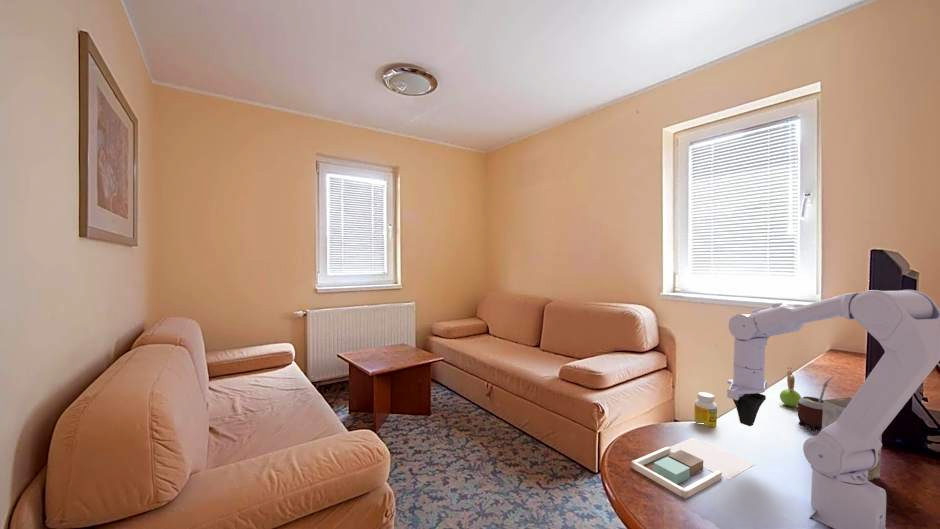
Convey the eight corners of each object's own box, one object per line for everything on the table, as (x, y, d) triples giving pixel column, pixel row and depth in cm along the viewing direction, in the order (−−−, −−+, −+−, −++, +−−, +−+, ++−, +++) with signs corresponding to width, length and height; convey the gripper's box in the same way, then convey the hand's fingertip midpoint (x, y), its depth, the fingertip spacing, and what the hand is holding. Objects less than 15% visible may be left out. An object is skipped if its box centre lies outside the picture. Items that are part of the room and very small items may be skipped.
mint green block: (689, 481, 79) (689, 467, 79) (675, 488, 76) (676, 474, 76) (666, 469, 83) (667, 456, 83) (653, 476, 80) (653, 462, 80)
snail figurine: (798, 404, 123) (800, 368, 123) (803, 410, 118) (804, 373, 117) (777, 400, 126) (779, 365, 126) (781, 407, 121) (782, 370, 120)
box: (721, 485, 79) (721, 472, 79) (685, 506, 72) (685, 491, 72) (666, 457, 89) (667, 446, 89) (630, 473, 82) (631, 461, 82)
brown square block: (703, 473, 82) (703, 460, 82) (690, 480, 79) (690, 466, 79) (680, 462, 86) (680, 449, 86) (667, 468, 83) (668, 455, 83)
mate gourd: (796, 427, 106) (798, 375, 106) (797, 418, 112) (799, 369, 112) (833, 436, 101) (835, 382, 101) (831, 426, 107) (833, 375, 107)
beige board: (755, 470, 84) (755, 464, 84) (728, 486, 78) (728, 479, 78) (692, 442, 96) (692, 437, 96) (664, 455, 90) (664, 448, 90)
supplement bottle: (699, 422, 109) (700, 389, 108) (719, 429, 104) (721, 395, 104) (690, 426, 106) (691, 393, 105) (710, 434, 101) (712, 399, 101)
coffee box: (853, 484, 79) (856, 410, 79) (818, 468, 86) (821, 399, 85) (881, 478, 82) (885, 406, 81) (845, 462, 88) (848, 395, 88)
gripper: (744, 357, 92) (742, 411, 93) (713, 365, 85) (711, 423, 85) (778, 365, 86) (776, 422, 87) (748, 374, 79) (746, 437, 79)
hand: (746, 424), depth 86 cm, fingers closed
